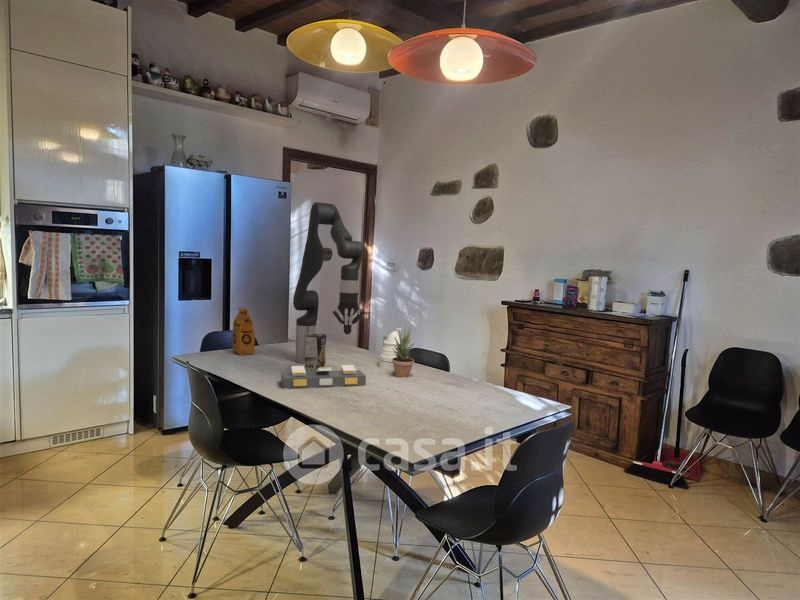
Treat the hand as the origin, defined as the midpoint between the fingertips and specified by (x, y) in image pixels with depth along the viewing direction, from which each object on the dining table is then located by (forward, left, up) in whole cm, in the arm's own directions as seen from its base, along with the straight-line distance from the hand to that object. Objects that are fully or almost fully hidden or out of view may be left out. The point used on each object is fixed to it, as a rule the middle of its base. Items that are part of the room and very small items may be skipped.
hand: (347, 334), depth 226 cm
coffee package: (-63, -37, -20) cm, 76 cm away
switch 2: (+1, -9, -14) cm, 17 cm away
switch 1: (+1, -19, -14) cm, 24 cm away
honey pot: (-25, +28, -20) cm, 42 cm away
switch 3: (+1, +1, -14) cm, 14 cm away
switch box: (+1, -9, -20) cm, 22 cm away
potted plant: (-8, +27, -20) cm, 34 cm away
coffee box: (-19, -9, -20) cm, 29 cm away
